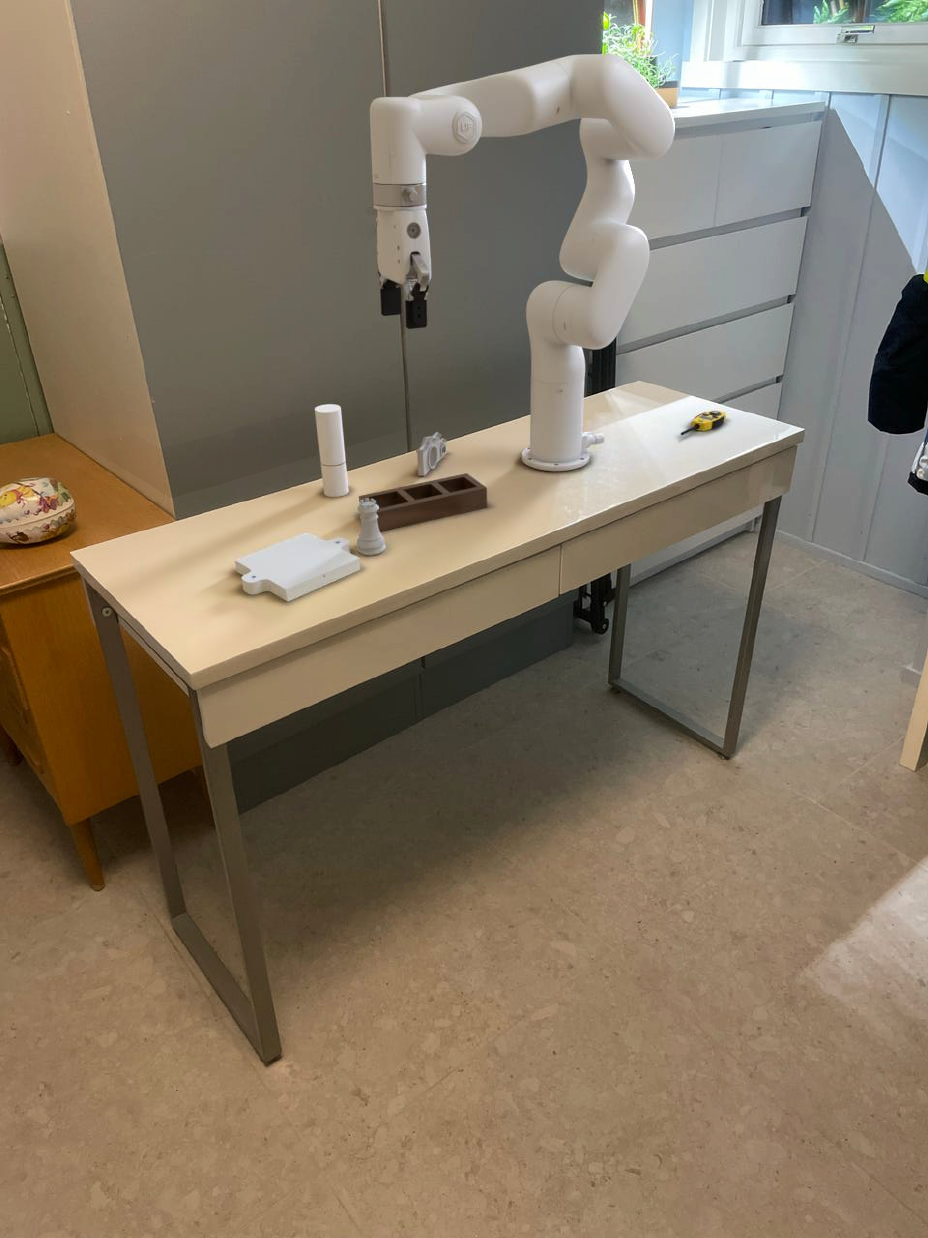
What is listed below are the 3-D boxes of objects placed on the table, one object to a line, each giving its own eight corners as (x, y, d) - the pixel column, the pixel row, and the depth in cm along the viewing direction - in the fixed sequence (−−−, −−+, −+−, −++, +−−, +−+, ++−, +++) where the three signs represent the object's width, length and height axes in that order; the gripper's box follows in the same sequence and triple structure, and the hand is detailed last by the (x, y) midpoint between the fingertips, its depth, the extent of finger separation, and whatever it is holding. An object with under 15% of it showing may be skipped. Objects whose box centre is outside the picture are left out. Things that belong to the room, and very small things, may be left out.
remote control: (731, 411, 187) (692, 431, 178) (730, 421, 188) (691, 440, 179) (710, 407, 190) (670, 425, 181) (709, 416, 191) (669, 435, 182)
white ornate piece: (439, 453, 176) (438, 423, 173) (448, 454, 176) (447, 424, 173) (416, 476, 167) (414, 445, 164) (425, 477, 166) (424, 446, 163)
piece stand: (360, 515, 153) (358, 495, 151) (467, 491, 160) (466, 472, 158) (377, 532, 147) (375, 512, 145) (487, 507, 155) (487, 487, 153)
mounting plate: (272, 608, 127) (270, 596, 126) (221, 577, 135) (219, 565, 134) (373, 563, 138) (372, 552, 137) (321, 537, 146) (319, 526, 145)
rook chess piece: (373, 540, 145) (369, 493, 140) (392, 549, 142) (388, 501, 138) (351, 550, 142) (346, 502, 138) (369, 559, 139) (365, 510, 135)
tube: (344, 497, 159) (336, 412, 152) (320, 496, 160) (311, 411, 152) (351, 487, 163) (344, 404, 155) (328, 486, 164) (319, 403, 156)
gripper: (449, 201, 126) (450, 330, 134) (401, 190, 139) (404, 308, 148) (398, 204, 123) (402, 335, 131) (353, 192, 136) (360, 312, 145)
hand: (403, 321), depth 140 cm, fingers open, 9 cm apart
